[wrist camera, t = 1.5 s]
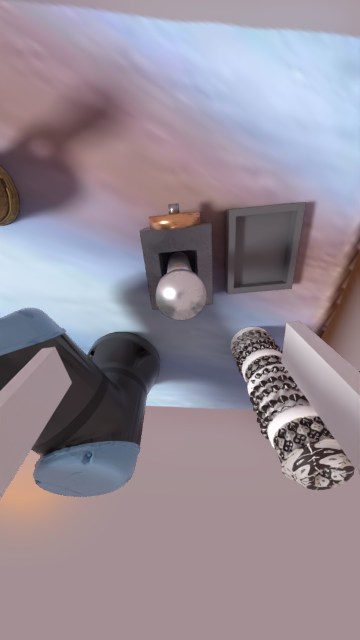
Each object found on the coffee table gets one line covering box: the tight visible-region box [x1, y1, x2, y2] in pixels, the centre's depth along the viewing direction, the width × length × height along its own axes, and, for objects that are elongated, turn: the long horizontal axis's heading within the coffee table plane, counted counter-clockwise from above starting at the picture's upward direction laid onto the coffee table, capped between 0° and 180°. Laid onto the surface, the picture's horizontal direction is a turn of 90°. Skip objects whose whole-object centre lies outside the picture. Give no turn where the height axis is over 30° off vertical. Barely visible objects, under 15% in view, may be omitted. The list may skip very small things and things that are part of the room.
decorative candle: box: [230, 327, 355, 490], centre depth 33 cm, size 9×9×25 cm
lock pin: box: [156, 253, 206, 320], centre depth 29 cm, size 5×5×16 cm
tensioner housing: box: [140, 204, 213, 309], centre depth 32 cm, size 15×10×8 cm
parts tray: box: [225, 202, 306, 294], centre depth 34 cm, size 13×11×2 cm
